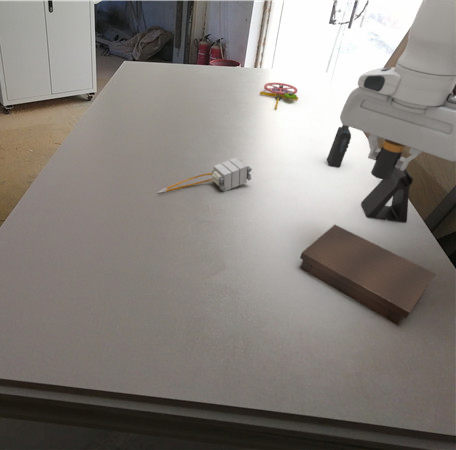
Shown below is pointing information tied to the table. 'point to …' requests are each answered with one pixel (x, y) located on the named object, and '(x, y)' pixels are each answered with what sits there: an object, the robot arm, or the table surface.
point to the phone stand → (384, 192)
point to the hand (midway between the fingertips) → (386, 163)
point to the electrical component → (224, 175)
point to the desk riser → (367, 272)
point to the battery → (387, 159)
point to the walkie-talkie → (339, 146)
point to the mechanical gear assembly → (280, 92)
